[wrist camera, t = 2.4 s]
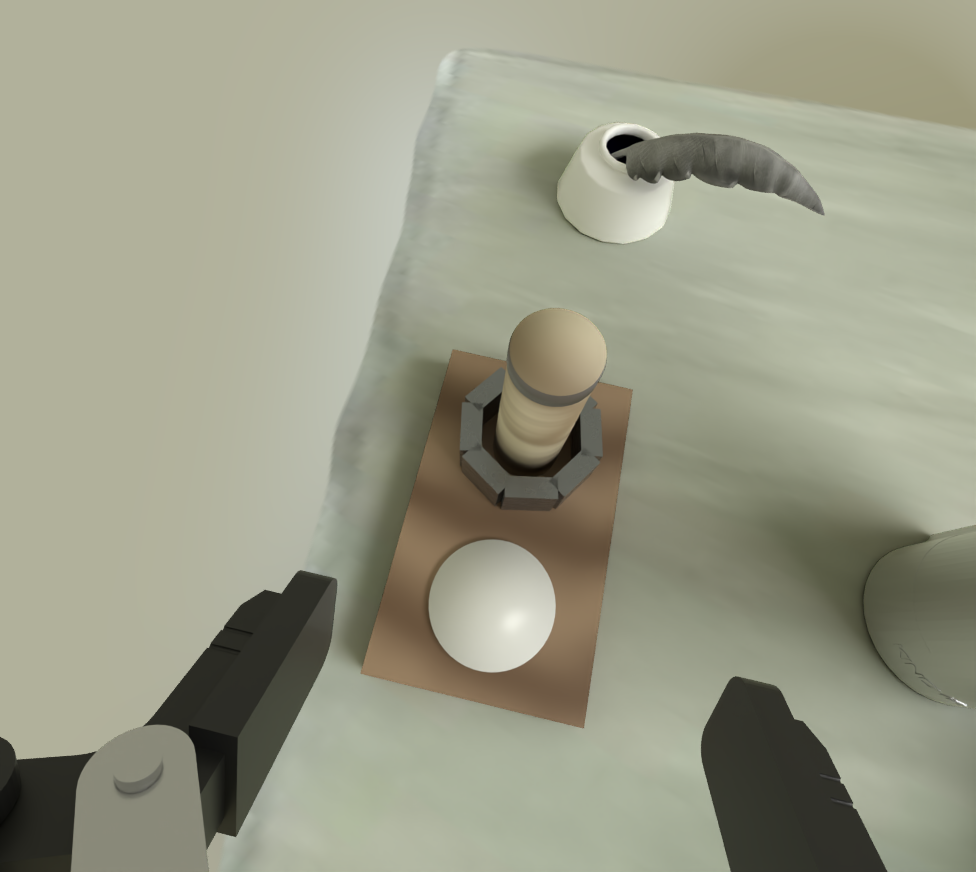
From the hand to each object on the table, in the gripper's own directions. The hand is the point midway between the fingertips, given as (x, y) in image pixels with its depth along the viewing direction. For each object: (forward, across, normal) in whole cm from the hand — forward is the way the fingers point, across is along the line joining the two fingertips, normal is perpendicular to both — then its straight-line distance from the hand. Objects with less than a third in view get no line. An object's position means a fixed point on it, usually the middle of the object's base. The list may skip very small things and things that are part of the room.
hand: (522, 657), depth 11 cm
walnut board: (+21, 0, +10) cm, 23 cm away
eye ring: (+22, 0, +5) cm, 23 cm away
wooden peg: (+22, 0, +5) cm, 23 cm away
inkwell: (+39, -7, -8) cm, 40 cm away
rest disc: (+16, 0, +12) cm, 20 cm away
